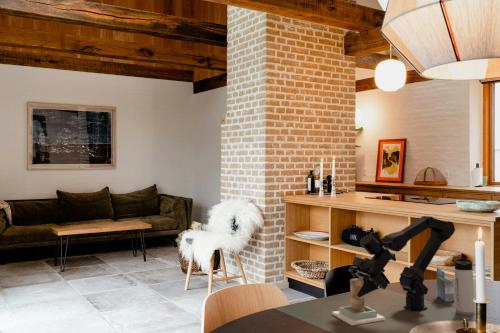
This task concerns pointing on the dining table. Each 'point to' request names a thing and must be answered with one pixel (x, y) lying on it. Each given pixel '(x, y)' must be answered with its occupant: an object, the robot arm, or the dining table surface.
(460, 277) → the travel mug
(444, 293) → the label tape box
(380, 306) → the dining table surface
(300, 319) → the dining table surface
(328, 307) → the dining table surface
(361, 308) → the tan cylinder
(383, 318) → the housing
